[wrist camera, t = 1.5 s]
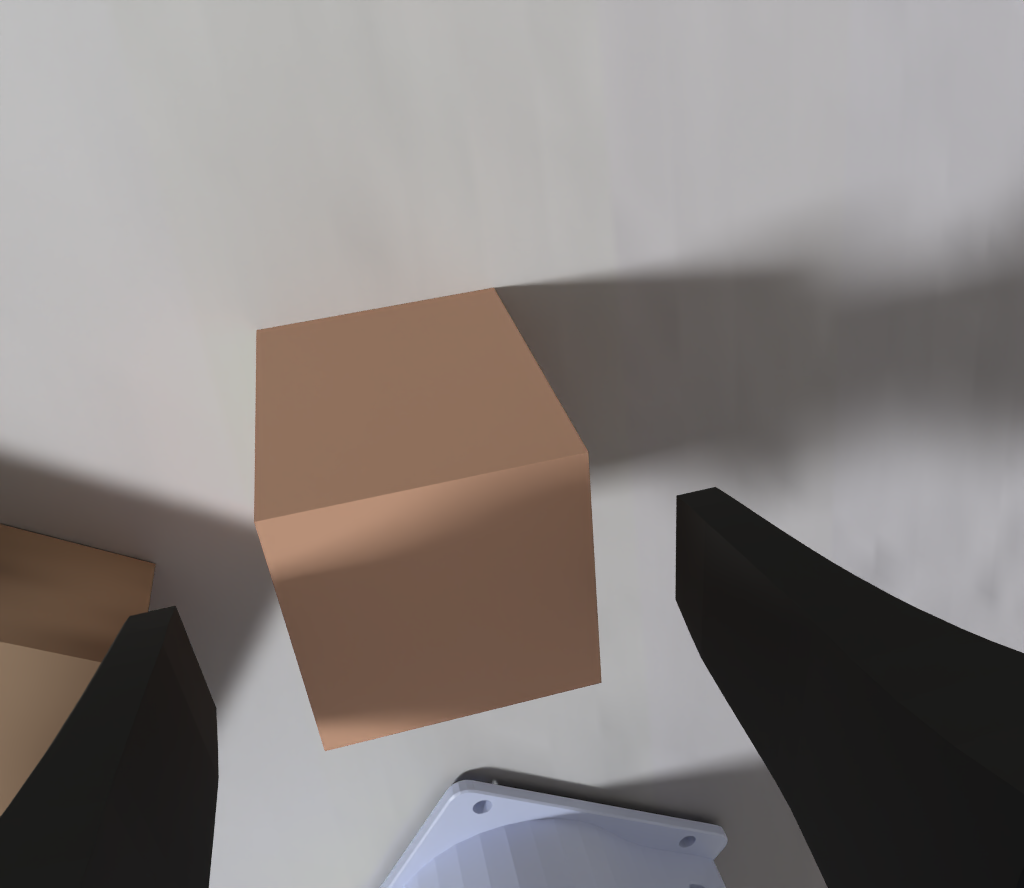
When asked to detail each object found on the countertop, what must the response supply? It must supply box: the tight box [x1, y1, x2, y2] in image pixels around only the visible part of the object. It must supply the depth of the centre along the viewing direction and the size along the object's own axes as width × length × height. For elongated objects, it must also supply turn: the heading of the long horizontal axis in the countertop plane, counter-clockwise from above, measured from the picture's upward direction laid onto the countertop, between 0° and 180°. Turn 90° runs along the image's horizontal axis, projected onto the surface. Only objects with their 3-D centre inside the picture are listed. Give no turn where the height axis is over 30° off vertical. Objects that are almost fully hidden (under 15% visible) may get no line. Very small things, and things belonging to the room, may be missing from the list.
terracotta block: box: [254, 288, 601, 751], centre depth 15 cm, size 4×4×6 cm
